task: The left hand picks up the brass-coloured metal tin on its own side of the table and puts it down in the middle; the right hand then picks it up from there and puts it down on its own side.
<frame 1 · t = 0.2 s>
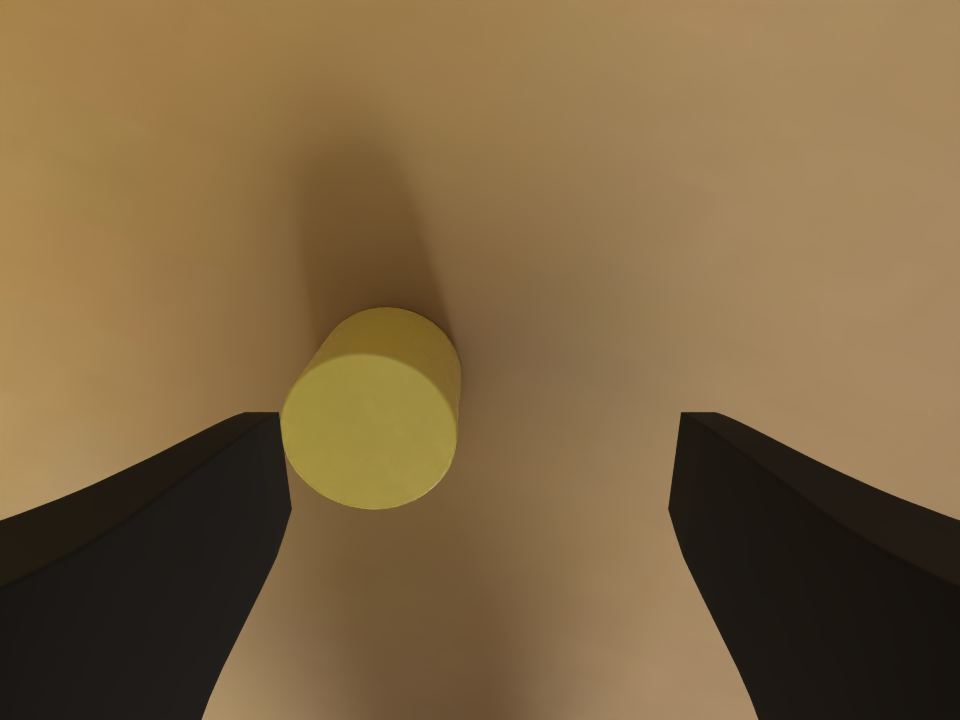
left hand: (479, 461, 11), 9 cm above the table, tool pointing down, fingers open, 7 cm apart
tin: (390, 375, 20), on the table
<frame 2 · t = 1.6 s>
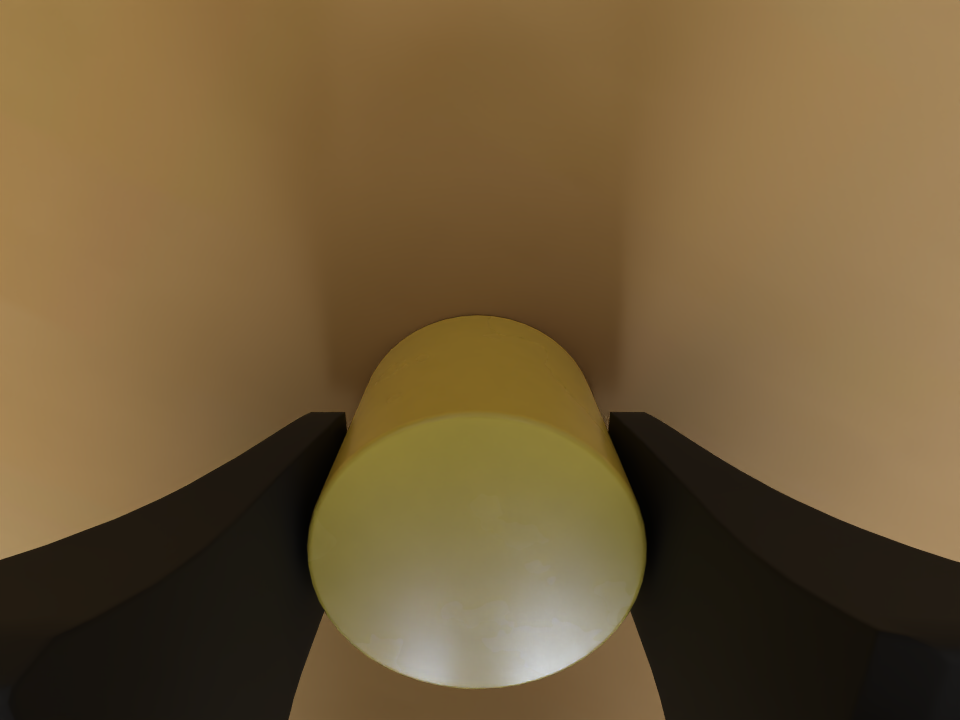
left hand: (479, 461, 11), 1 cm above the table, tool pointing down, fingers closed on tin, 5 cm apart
tin: (478, 425, 12), on the table, touching left hand
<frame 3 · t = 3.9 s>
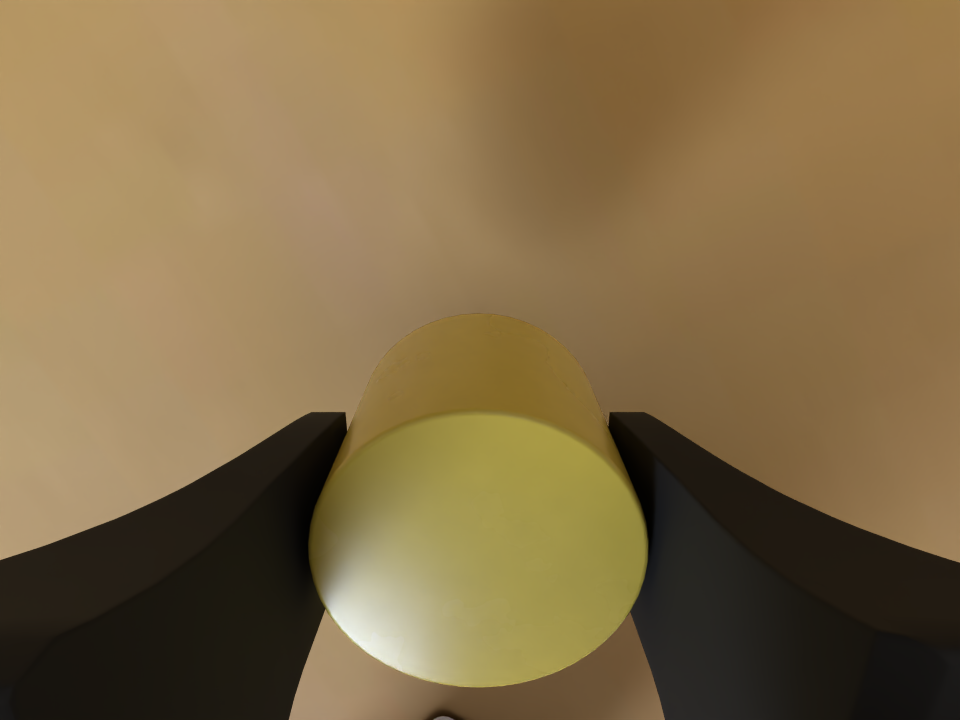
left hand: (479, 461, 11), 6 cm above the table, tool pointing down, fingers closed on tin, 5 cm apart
tin: (478, 424, 12), point 5 cm above the table, touching left hand
when the left hand's fingers open (2 cm above the table, at t = 6.6 s): tin stays where it is, on the table.
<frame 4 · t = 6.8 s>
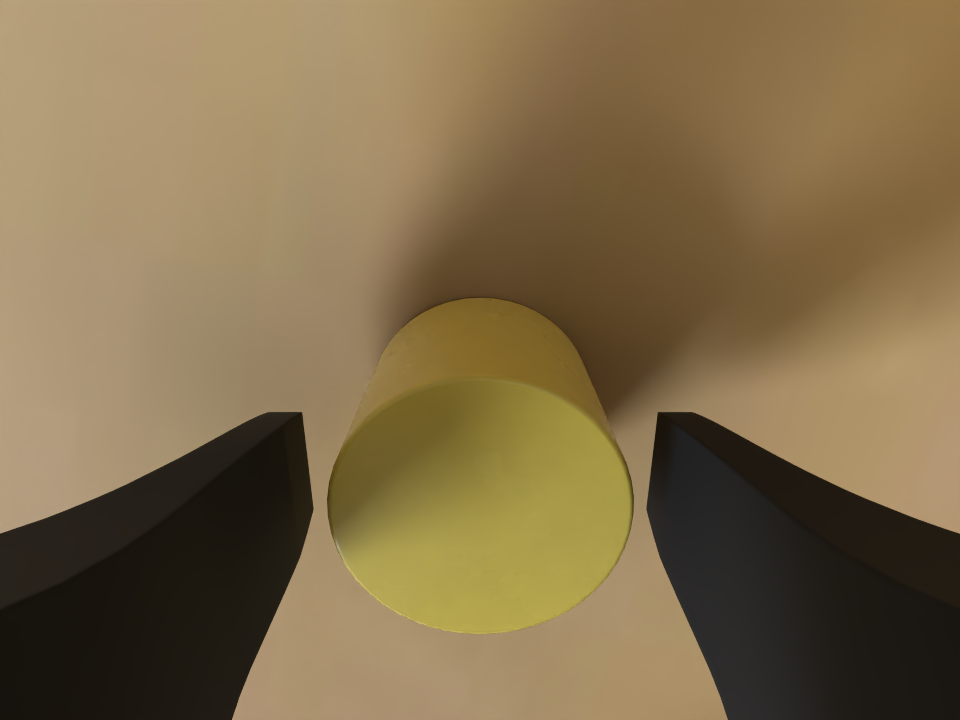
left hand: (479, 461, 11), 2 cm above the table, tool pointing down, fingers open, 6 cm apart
tin: (480, 401, 13), on the table
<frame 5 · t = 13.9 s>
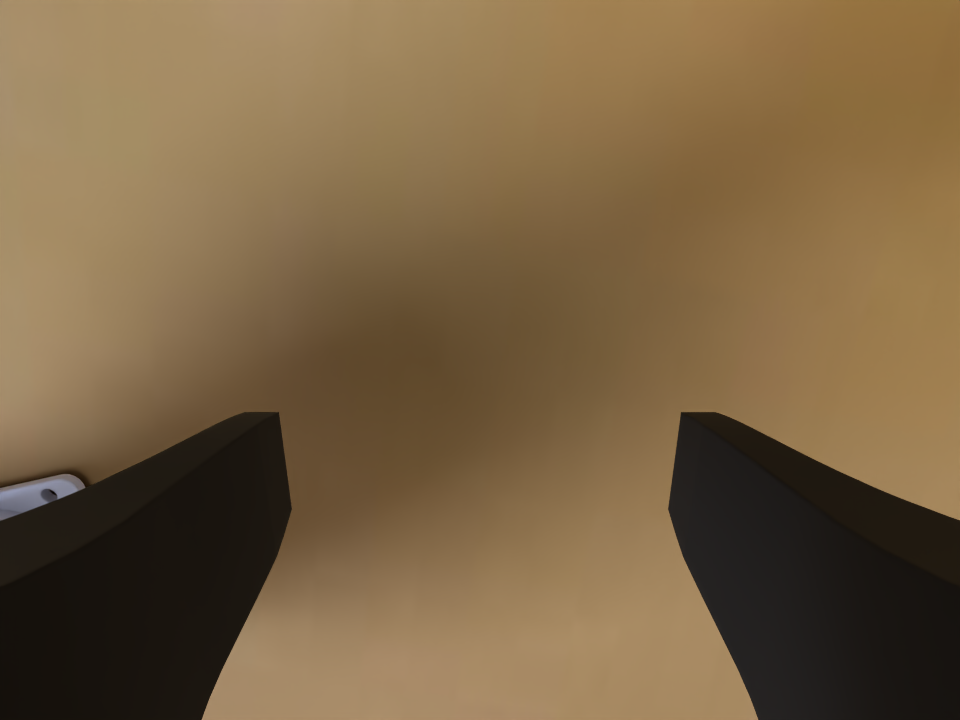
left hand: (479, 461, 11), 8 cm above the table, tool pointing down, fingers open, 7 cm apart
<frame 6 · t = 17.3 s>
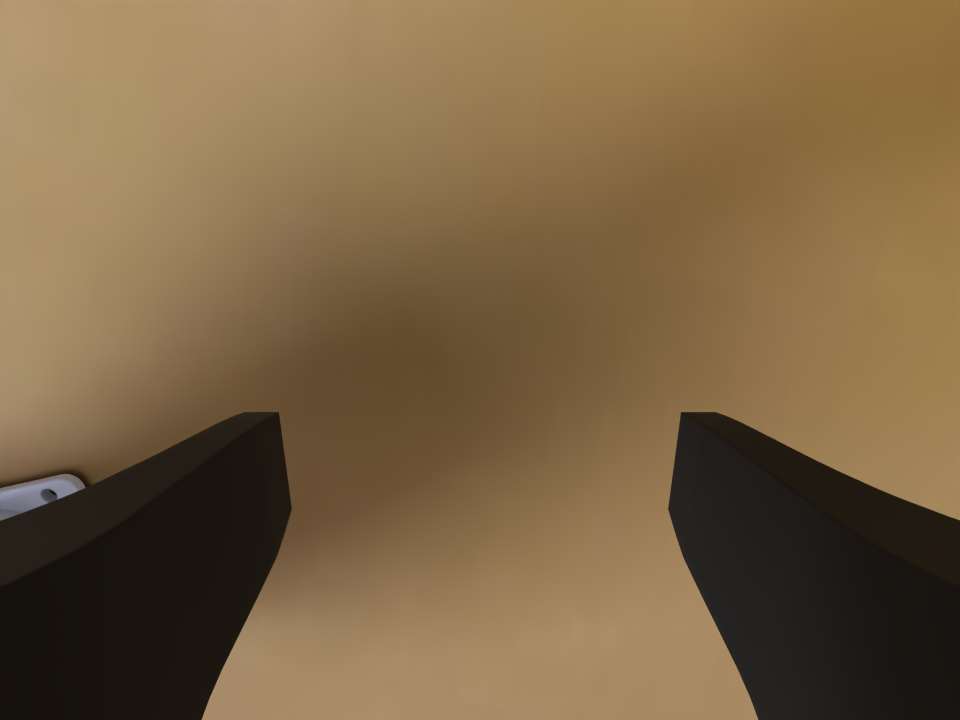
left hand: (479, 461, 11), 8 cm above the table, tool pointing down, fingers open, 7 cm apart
when the right hand's fingers open (1 cm above the table, at t = 21.2 s): tin stays where it is, on the table.
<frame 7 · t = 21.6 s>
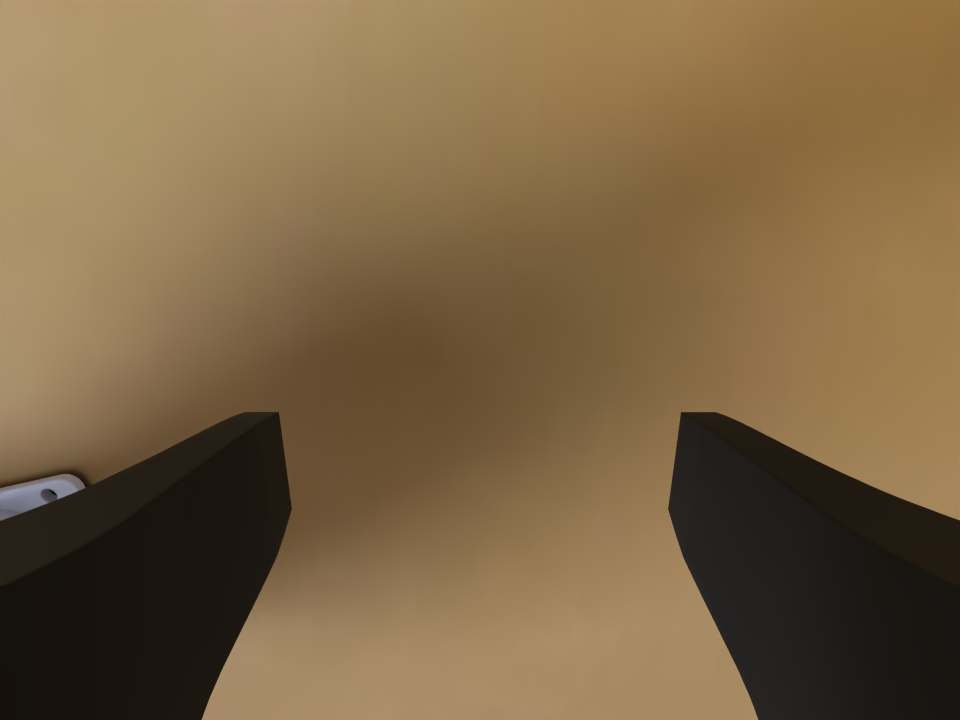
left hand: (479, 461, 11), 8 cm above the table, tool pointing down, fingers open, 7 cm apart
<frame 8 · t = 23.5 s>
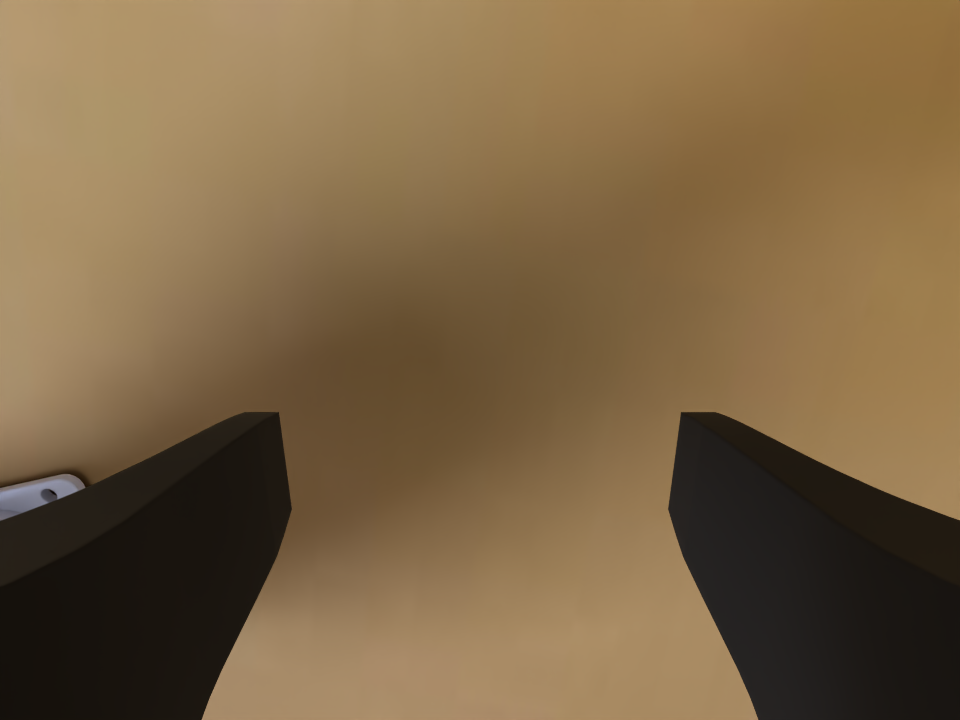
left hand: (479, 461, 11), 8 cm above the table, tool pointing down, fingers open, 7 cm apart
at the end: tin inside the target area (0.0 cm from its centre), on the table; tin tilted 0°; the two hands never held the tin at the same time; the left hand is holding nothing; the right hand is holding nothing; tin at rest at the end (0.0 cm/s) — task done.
